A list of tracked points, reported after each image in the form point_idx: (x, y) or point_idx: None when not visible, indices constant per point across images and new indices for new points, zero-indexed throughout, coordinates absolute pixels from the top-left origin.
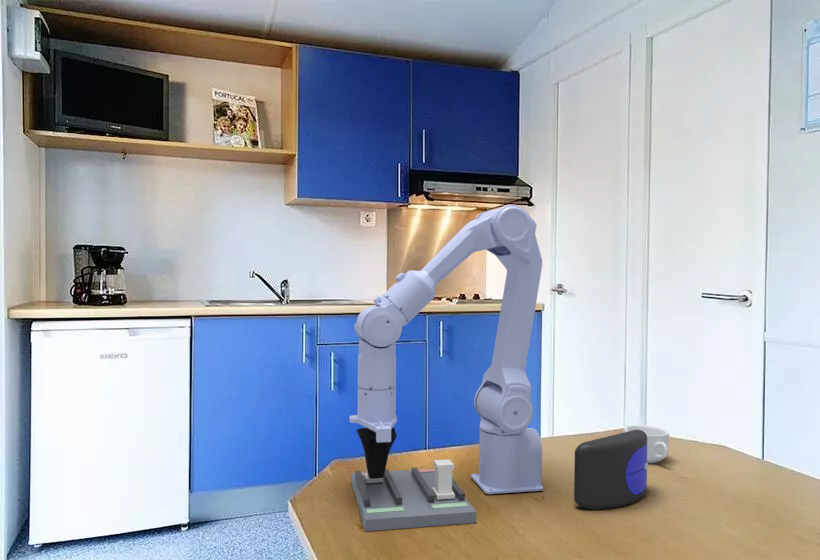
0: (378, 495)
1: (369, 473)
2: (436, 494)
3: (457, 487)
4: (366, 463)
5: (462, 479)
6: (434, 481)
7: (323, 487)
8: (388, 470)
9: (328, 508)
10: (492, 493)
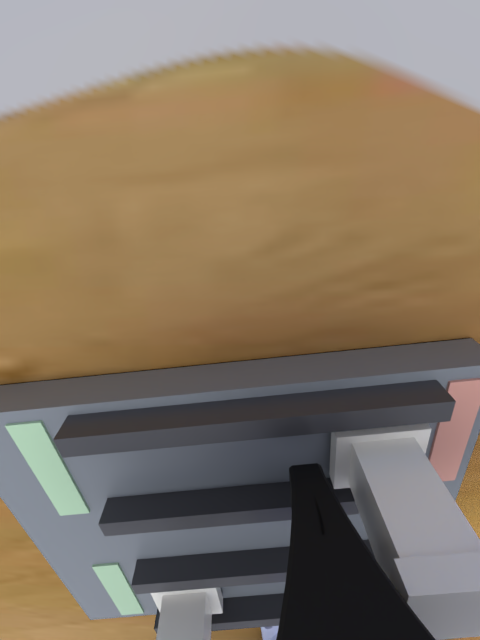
0: (200, 455)
1: (291, 489)
2: (158, 592)
3: None
4: (317, 530)
5: None
6: None
7: (462, 211)
8: None
9: (179, 250)
10: None
